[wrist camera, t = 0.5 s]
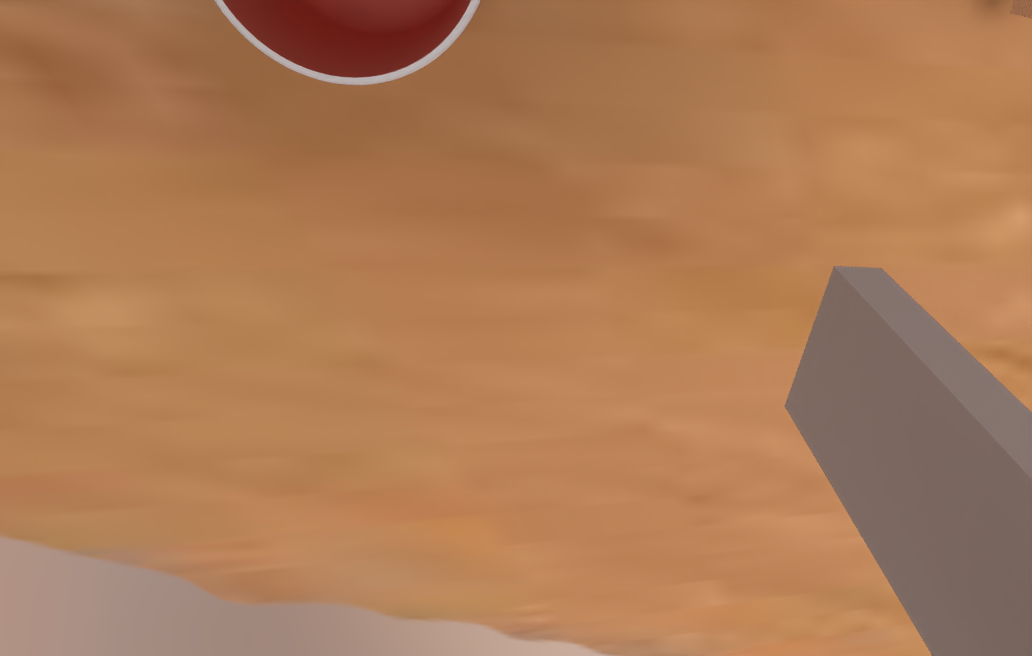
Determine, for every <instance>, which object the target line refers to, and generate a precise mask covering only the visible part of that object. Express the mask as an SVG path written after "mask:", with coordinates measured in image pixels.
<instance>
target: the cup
mask: <svg viewBox="0 0 1032 656" xmlns="http://www.w3.org/2000/svg"><path fill="white" fill-rule="evenodd" d="M214 1H215V2H216V4H217V5H218V6H219V8H220V9H221V11H222V12H223V13H224V15H225V16H226V17H227V18H228V20H229V21H230V22H231V23H232V24H233V25H234V26H235V28H236V29H237V30H238V31H239V32H240V33H241V34H242V35H243V36H244V37H245V38H246V39H248V40H249V41H250V42H251V43H252V44H253V45H254V46H256V47H257V48H258V49H259V50H261V51H262V52H263V53H265V54H266V55H268V56H269V57H270V58H272V59H273V60H275V61H277V62H278V63H280V64H282V65H284V66H285V67H287V68H289V69H291V70H294V71H296V72H298V73H301V74H303V75H306V76H309V77H312V78H315V79H318V80H322V81H326V82H331V83H337V84H345V85H369V84H378V83H383V82H387V81H392V80H395V79H398V78H401V77H404V76H406V75H409V74H411V73H413V72H415V71H417V70H419V69H421V68H423V67H425V66H426V65H427V64H429V63H430V62H432V61H433V60H435V59H436V58H438V57H439V56H440V55H441V54H442V53H443V52H445V51H446V50H447V49H448V48H449V47H450V46H451V45H452V44H453V43H454V42H455V40H456V39H457V38H458V37H459V36H460V35H461V33H462V32H463V31H464V29H465V28H466V26H467V25H468V23H469V22H470V20H471V19H472V17H473V15H474V13H475V11H476V9H477V7H478V5H479V3H480V1H481V0H214Z"/></svg>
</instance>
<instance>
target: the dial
mask: <svg viewBox="0 0 1032 656" xmlns="http://www.w3.org/2000/svg"><path fill="white" fill-rule="evenodd" d="M1010 13H1012V14H1016V15H1020V16H1024V17H1028V18H1032V0H1014V2H1013V6H1012V9H1011V12H1010Z"/></svg>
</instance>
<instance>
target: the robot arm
mask: <svg viewBox="0 0 1032 656" xmlns="http://www.w3.org/2000/svg"><path fill="white" fill-rule="evenodd" d="M785 407H786V409H787V411H788V413H789V414H790V416H791V418H792V419H793V421H794V423H795V424H796V426H797V428H798V429H799V431H800V433H801V435H802V436H803V438H804V440H805V441H806V443H807V445H808V446H809V448H810V450H811V451H812V453H813V455H814V456H815V458H816V460H817V462H818V463H819V465H820V467H821V468H822V470H823V472H824V473H825V475H826V477H827V478H828V480H829V482H830V484H831V485H832V487H833V489H834V490H835V492H836V494H837V495H838V497H839V499H840V500H841V502H842V504H843V505H844V507H845V509H846V511H847V512H848V514H849V516H850V517H851V519H852V521H853V522H854V524H855V526H856V527H857V529H858V531H859V533H860V534H861V536H862V538H863V539H864V541H865V543H866V544H867V546H868V548H869V549H870V551H871V553H872V554H873V556H874V558H875V560H876V561H877V563H878V565H879V566H880V568H881V570H882V571H883V573H884V575H885V576H886V578H887V580H888V582H889V583H890V585H891V587H892V588H893V590H894V592H895V593H896V595H897V597H898V598H899V600H900V602H901V603H902V605H903V607H904V609H905V610H906V612H907V614H908V615H909V617H910V619H911V620H912V622H913V624H914V625H915V627H916V629H917V631H918V632H919V634H920V636H921V637H922V639H923V641H924V642H925V644H926V646H927V647H928V649H929V651H930V652H931V654H932V656H1032V412H1031V411H1030V410H1029V409H1028V408H1026V407H1025V406H1024V405H1023V404H1022V403H1021V402H1020V401H1019V400H1018V399H1017V398H1016V397H1015V396H1014V395H1013V394H1012V393H1011V392H1010V391H1009V390H1008V389H1007V388H1006V387H1005V386H1004V385H1002V384H1001V383H1000V382H999V381H998V380H997V379H996V378H995V377H994V376H993V375H992V374H991V373H990V372H989V371H988V370H987V369H986V368H985V367H984V366H983V365H982V364H981V363H980V362H978V361H977V360H976V359H975V358H974V357H973V356H972V355H971V354H970V353H969V352H968V351H967V350H966V349H965V348H964V347H963V346H962V345H961V344H960V343H959V342H958V341H957V340H956V339H955V338H953V337H952V336H951V335H950V334H949V333H948V332H947V331H946V330H945V329H944V328H943V327H942V326H941V325H940V324H939V323H938V322H937V321H936V320H935V319H934V318H933V317H932V316H931V315H929V314H928V313H927V312H926V311H925V310H924V309H923V308H922V307H921V306H920V305H919V304H918V303H917V302H916V301H915V300H914V299H913V298H912V297H911V296H910V295H909V294H908V293H907V292H905V291H904V290H903V289H902V288H901V287H900V286H899V285H898V284H897V283H896V282H895V281H894V280H893V279H892V278H891V277H890V276H889V275H888V274H887V273H886V272H885V271H884V270H883V269H881V268H865V267H842V266H834V268H833V271H832V273H831V276H830V279H829V282H828V285H827V288H826V290H825V293H824V296H823V299H822V302H821V305H820V307H819V310H818V313H817V316H816V319H815V322H814V324H813V327H812V330H811V333H810V336H809V339H808V341H807V344H806V347H805V350H804V353H803V356H802V359H801V361H800V364H799V367H798V370H797V373H796V376H795V378H794V381H793V384H792V387H791V390H790V393H789V395H788V398H787V401H786V404H785Z"/></svg>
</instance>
